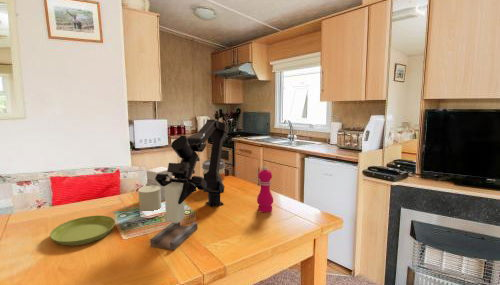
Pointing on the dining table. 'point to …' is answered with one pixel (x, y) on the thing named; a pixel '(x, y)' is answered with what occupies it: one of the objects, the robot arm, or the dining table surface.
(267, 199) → the pepper mill
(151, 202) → the can
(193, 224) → the floor track
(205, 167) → the reusable coffee cup
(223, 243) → the dining table surface
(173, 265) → the dining table surface
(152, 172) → the supplement box
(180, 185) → the white rectangular block
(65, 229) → the saucer
